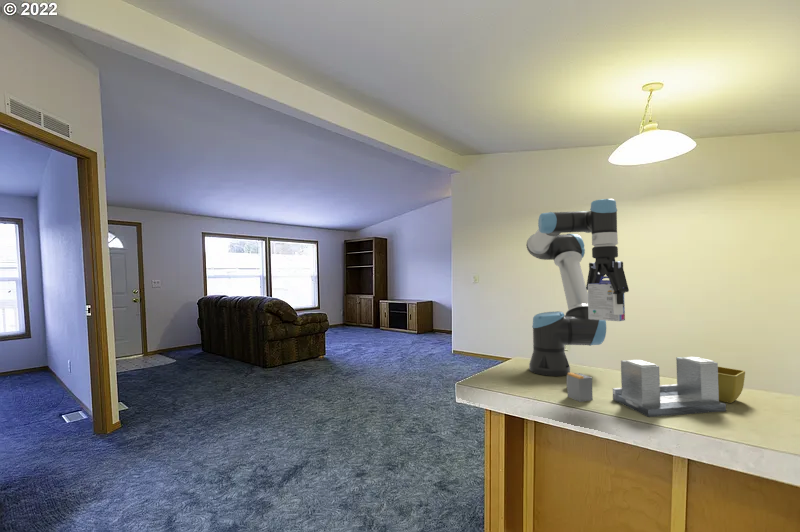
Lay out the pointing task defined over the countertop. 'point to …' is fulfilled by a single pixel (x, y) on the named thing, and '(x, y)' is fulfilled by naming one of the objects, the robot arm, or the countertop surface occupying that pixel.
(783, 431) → the countertop surface
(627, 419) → the countertop surface
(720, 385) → the flower pot
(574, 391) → the block
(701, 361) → the rail board
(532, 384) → the countertop surface
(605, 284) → the ink cartridge box
